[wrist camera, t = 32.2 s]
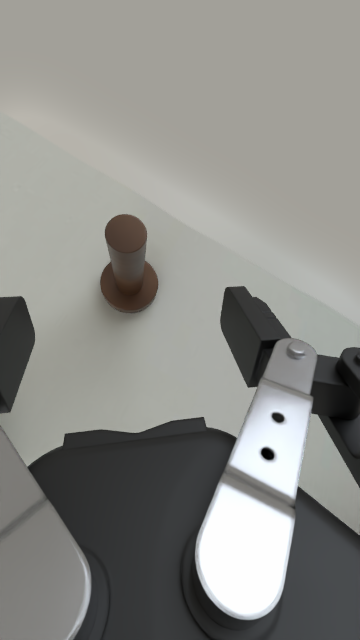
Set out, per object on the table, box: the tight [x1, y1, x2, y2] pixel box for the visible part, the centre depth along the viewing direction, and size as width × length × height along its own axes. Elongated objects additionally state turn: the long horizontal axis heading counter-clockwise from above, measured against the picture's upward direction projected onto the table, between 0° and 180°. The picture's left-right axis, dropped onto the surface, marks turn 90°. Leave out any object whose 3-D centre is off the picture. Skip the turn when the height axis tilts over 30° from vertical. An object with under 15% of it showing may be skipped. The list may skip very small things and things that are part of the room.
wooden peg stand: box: [100, 214, 158, 313], centre depth 20 cm, size 5×5×10 cm
